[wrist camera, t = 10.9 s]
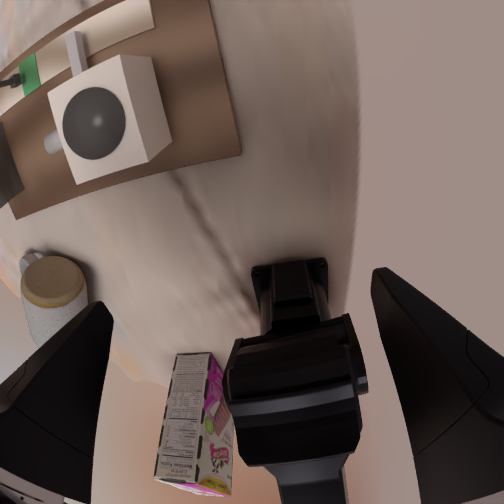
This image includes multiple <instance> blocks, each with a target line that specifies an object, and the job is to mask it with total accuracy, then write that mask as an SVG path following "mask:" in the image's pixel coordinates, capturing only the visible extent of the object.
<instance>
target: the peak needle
mask: <svg viewBox="0 0 504 504" xmlns="http://www.w3.org/2000/svg"><path fill="white" fill-rule="evenodd" d="M21 84H22V81H21V76H20V73H17V74H13V75H12V76H11V77H9V79H7V80H3V81H0V88H1V87H5V86H9V85H10V87H11V89H12V88H16V87H18V86H19V85H21Z"/></svg>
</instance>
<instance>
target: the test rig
mask: <svg viewBox="0 0 504 504" xmlns="http://www.w3.org/2000/svg"><path fill="white" fill-rule="evenodd" d="M73 31H80V32H81V36H82V42H83V47H84V52H85V57H86V61H87V66H88V69H90V68H92V67H94V66H96V65H98V64H100V63H102V62H104V61H106V60H108V59H110V58H112V57H115V56H117V55H119V54H122V55H135V56H146V57H151V59H152V63H153V67H154V72H155V76H156V80H157V84H158V88H159V92H160V96H161V100H162V104H163V108H164V112H165V115H166V119H167V123H168V127H169V130H170V134H171V138H172V142H171V143H170V144H168V145H167V146H166V147H165V148H164V149H163V150H161V151H160V152H159V153H158V154H157V155H156V156H155V157H153V158H152V159H151V160H150V161H149V162H146V163H143V164H139V165H136V166H132V167H129V168H126V169H123V170H119V171H116V172H113V173H110V174H107V175H104V176H101V177H98V178H95V179H92V180H89V181H86V182H84V183H81V184H78V185H77V184H76V182H75V179H74V177H73V174H72V171H71V169H70V166H69V163H68V160H67V158H66V155H65V152H64V150H62V151H60V152H58V153H56V154H54V155H51V154H49V153H48V152H47V151H46V149H45V146H44V139H45V136H46V135H47V134H49V133H50V132H52V131H54V130H56V129H57V127H56V124H55V120H54V117H53V113H52V110H51V106H50V102H49V98H48V94H47V93H48V92H49V91H51V90H53V89H54V88H56V87H57V86H59V85H61V84H62V83H64V82H66V81H68V80H69V79H71V78H73V75H72V70H71V66H70V61H69V56H68V51H67V46H66V40H65V36H67V35H68V34H70V33H72V32H73ZM17 73H20V76H21V81H22V84H21V85H19V86H18V87H16V88H12V89H11V87H10V85H9V86H5V87H1V88H0V208H1V207H3V206H4V205H5V204H6V203H7V202H8V203H9V205H10V207H11V210H12V212H13V214H14V216H15V218H16V220H18V219H20V218H23V217H25V216H27V215H30V214H32V213H35V212H37V211H40V210H43V209H45V208H48V207H50V206H53V205H56V204H59V203H61V202H64V201H67V200H70V199H73V198H76V197H78V196H81V195H84V194H87V193H91V192H94V191H97V190H100V189H103V188H106V187H110V186H113V185H116V184H120V183H123V182H127V181H130V180H134V179H137V178H141V177H145V176H149V175H152V174H156V173H160V172H164V171H168V170H173V169H177V168H181V167H185V166H190V165H194V164H199V163H204V162H209V161H214V160H219V159H224V158H229V157H234V156H240V155H241V154H242V149H241V144H240V140H239V135H238V130H237V125H236V121H235V116H234V111H233V106H232V102H231V97H230V92H229V88H228V83H227V78H226V74H225V69H224V65H223V60H222V55H221V51H220V46H219V42H218V37H217V33H216V28H215V24H214V19H213V15H212V10H211V6H210V1H209V0H104V1H102V2H100V3H98V4H96V5H94V6H93V7H91V8H89V9H87V10H85V11H84V12H82V13H80V14H78V15H77V16H75V17H73V18H72V19H70V20H69V21H67V22H65V23H64V24H62V25H61V26H59V27H58V28H56V29H55V30H53V31H52V32H50V33H49V34H47V35H46V36H45V37H43V38H42V39H40V40H39V41H38V42H36V43H35V44H34V45H32V46H31V47H30V48H29V49H27V50H26V51H25V52H24V53H22V54H21V55H20V56H19V57H17V58H16V59H15V60H14V61H13V62H12V63H10V64H9V65H8V66H7V67H6V68H5V69H4V70H3V71H2V72H0V81H3V80H7V79H9V77H11V76H12V75H13V74H17Z"/></svg>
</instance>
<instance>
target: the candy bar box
mask: <svg viewBox="0 0 504 504" xmlns="http://www.w3.org/2000/svg"><path fill="white" fill-rule="evenodd" d="M223 375H224V374H223V372H222V371H221V369H220V367H219V366H218V364H217V363H216V361H215V359H214V357H213V356H212V354H211V353H196V354H180V355H176V359H175V364H174V368H173V373H172V378H171V383H170V387H169V392H168V398H167V402H166V407H165V413H164V419H163V423H162V429H161V435H160V441H159V447H158V453H157V459H156V465H155V472H154V477H153V479H155V480H157V481H160V482H162V483H165V484H168V485H170V486H173V487H176V488H179V489H182V490H185V491H188V492H191V493H194V494H199V495H208V496H220V497H227V496H231V487H232V486H231V485H232V462H233V436H234V421H233V417H232V415H231V413H230V411H229V409H228V408H227V405H226V403H225V399H224V396H223V394H222V389H223V387H222V383H221V381H222V378H223Z"/></svg>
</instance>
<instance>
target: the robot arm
mask: <svg viewBox="0 0 504 504" xmlns="http://www.w3.org/2000/svg"><path fill="white" fill-rule="evenodd" d="M321 263H324V264H323V265H320V264H321ZM255 272H258V274H256V273H255ZM251 277H252V282H253V286H254V290H255V294H256V298H257V302H258V306H259V311H260V315H261V336H256V337H251V338H246V339H243V338H239V339H236V340H235V343H234V346H233V348H232V351H231V354H230V357H229V360H228V363H227V365H226V368H225V371H224V375H223V378H222V381H221V383H222V387H223V389H222V394H223V396H224V399H225V403H226V405H227V408H228V409H229V411H230V413H231V415H232V417H233V421H234V425H235V430H236V436H237V444H238V452H239V455H240V456H241V458H242V459H243V460H244V462H245V463H246V465H247V466H249V467H258V466H263V467H265V468H266V469H267V470H268V471H269V472H270V473H271V474H272V475H273V476H274V477H275V478H276V480H277V483H278V488H279V493H280V498H281V502H282V504H349V500H348V492H347V484H346V477H345V469H344V464H345V462H346V460H347V458H348V456H349V454H352V453H354V452H355V449H356V447H357V445H358V442H359V440H360V432H361V430H362V418H361V412H360V405H359V399H358V395H362V394H366V393H368V381H367V375H366V369H365V364H364V360H363V355H362V352H361V348H360V345H359V341H358V339H357V335H356V333H355V330H354V327H353V324H352V321H351V318H350V315H349V313H347V314H343V315H342V316H341V317H337V318H333V319H331V316H330V311H329V307H328V264H327V260H326V259H324V258H318V259H311V260H303V261H296V262H288V263H281V264H274V265H266V266H259V267H254V268H252V270H251ZM371 298H372V302H373V306H374V310H375V315H376V319H377V323H378V328H379V332H380V337H381V340H382V344H383V347H384V350H385V353H386V356H387V359H388V362H389V366H390V369H391V372H392V375H393V379H394V382H395V385H396V389H397V392H398V396H399V400H400V403H401V407H402V411H403V414H404V418H405V422H406V426H407V431H408V435H409V439H410V444H411V448H412V453H413V456H414V457H413V458H414V463H415V469H416V474H417V480H418V486H419V492H420V498H421V504H504V357H503V356H501V355H500V354H499V353H497V352H496V351H495V350H493V349H492V348H490V347H489V346H488V345H487V344H486V343H484V342H483V341H482V340H481V339H479V338H478V337H477V336H476V335H475V334H473V333H472V332H471V331H470V330H467V328H466V327H465V326H463V325H462V324H461V323H460V322H459V321H457V320H456V319H455V318H453V317H452V316H451V315H450V314H449V313H447V312H446V311H445V310H443V309H442V308H441V307H440V306H438V305H437V304H436V303H434V302H433V301H431V300H430V299H429V298H428V297H426V296H425V295H424V294H423V293H421V292H420V291H418V290H417V289H416V288H414V287H413V286H412V285H411V284H409V283H408V282H406V281H405V280H404V279H402V278H401V277H399V276H398V275H397V274H395V273H394V272H393V271H391V270H390V269H388V268H386V267H383V268H376V269H374V270H373V273H372V281H371ZM113 324H114V320H113V316H112V315H111V313H110V312H109V310H108V309H107V307H106V306H105V304H104V303H103V302H102V301H93V302H91V303H89V304H88V305H87V306H86V307H85V308H84V309H82V310H81V311H80V312H79V313H78V314H77V315H75V316H74V317H73V318H72V319H71V320H70V321H69V322H68V323H66V324H65V325H64V326H63V327H62V328H61V329H60V330H59V331H57V332H56V333H55V334H54V335H53V336H52V337H51V338H50V339H49V340H48V341H46V342H45V343H44V344H43V345H42V346H41V347H40V348H39V349H38V350H37V351H36V352H35V353H34V354H33V355H31V356H30V357H29V358H28V360H26V361H25V362H24V363H23V364H22V365H21V366H20V367H19V368H18V369H17V370H16V371H15V372H14V373H13V374H11V375H10V376H9V377H8V378H7V379H6V380H5V381H4V382H3V383H1V384H0V504H67V503H66V502H64V497H67V498H70V499H73V500H76V501H79V502H82V503H85V504H91V486H92V469H93V456H94V446H95V436H96V429H97V421H98V414H99V408H100V402H101V396H102V391H103V385H104V380H105V375H106V370H107V365H108V360H109V353H110V345H111V338H112V331H113Z"/></svg>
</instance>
